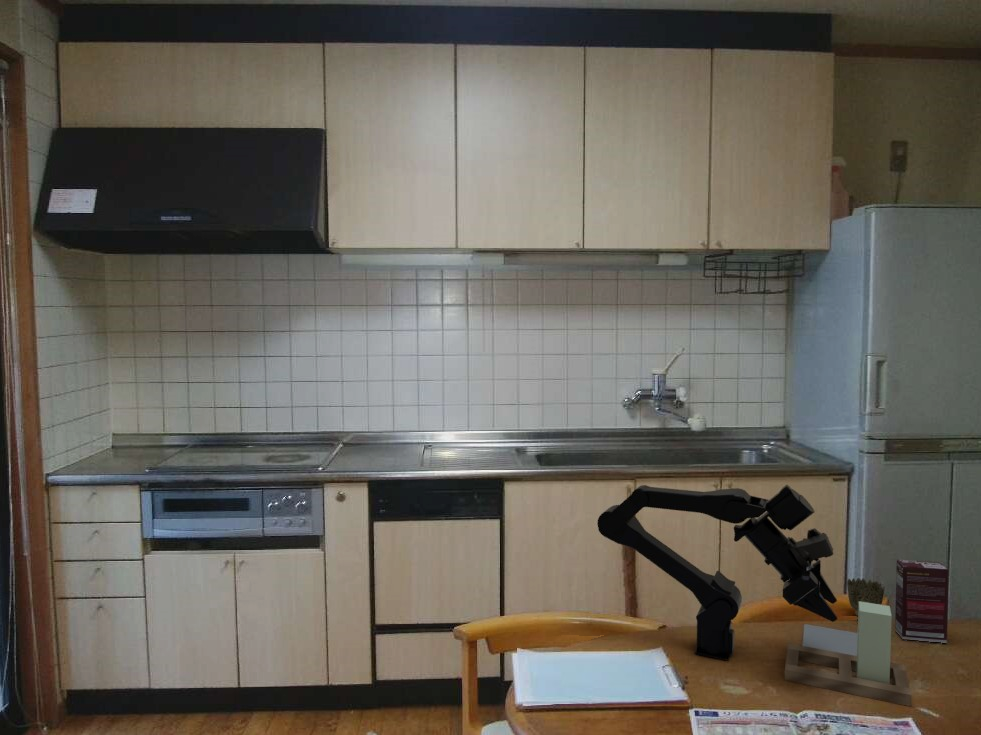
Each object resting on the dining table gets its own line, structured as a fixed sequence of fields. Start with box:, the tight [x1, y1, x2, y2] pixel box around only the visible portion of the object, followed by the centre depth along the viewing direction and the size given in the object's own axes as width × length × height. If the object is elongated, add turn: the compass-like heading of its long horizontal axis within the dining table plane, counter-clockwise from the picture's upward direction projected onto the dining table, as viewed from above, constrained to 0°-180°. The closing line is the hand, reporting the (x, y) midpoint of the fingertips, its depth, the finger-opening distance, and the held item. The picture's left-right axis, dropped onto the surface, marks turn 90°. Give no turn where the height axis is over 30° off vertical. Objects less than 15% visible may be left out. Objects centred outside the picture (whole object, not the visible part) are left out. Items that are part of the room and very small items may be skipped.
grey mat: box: [801, 623, 858, 656], centre depth 141 cm, size 12×12×1 cm
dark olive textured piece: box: [846, 577, 886, 618], centre depth 155 cm, size 8×7×8 cm
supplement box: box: [894, 559, 950, 644], centre depth 145 cm, size 9×5×16 cm, turn 77°
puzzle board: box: [784, 642, 912, 707], centre depth 128 cm, size 20×12×2 cm, turn 64°
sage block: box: [855, 601, 893, 684], centre depth 126 cm, size 5×5×14 cm
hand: (835, 610), depth 128 cm, fingers open, 9 cm apart
